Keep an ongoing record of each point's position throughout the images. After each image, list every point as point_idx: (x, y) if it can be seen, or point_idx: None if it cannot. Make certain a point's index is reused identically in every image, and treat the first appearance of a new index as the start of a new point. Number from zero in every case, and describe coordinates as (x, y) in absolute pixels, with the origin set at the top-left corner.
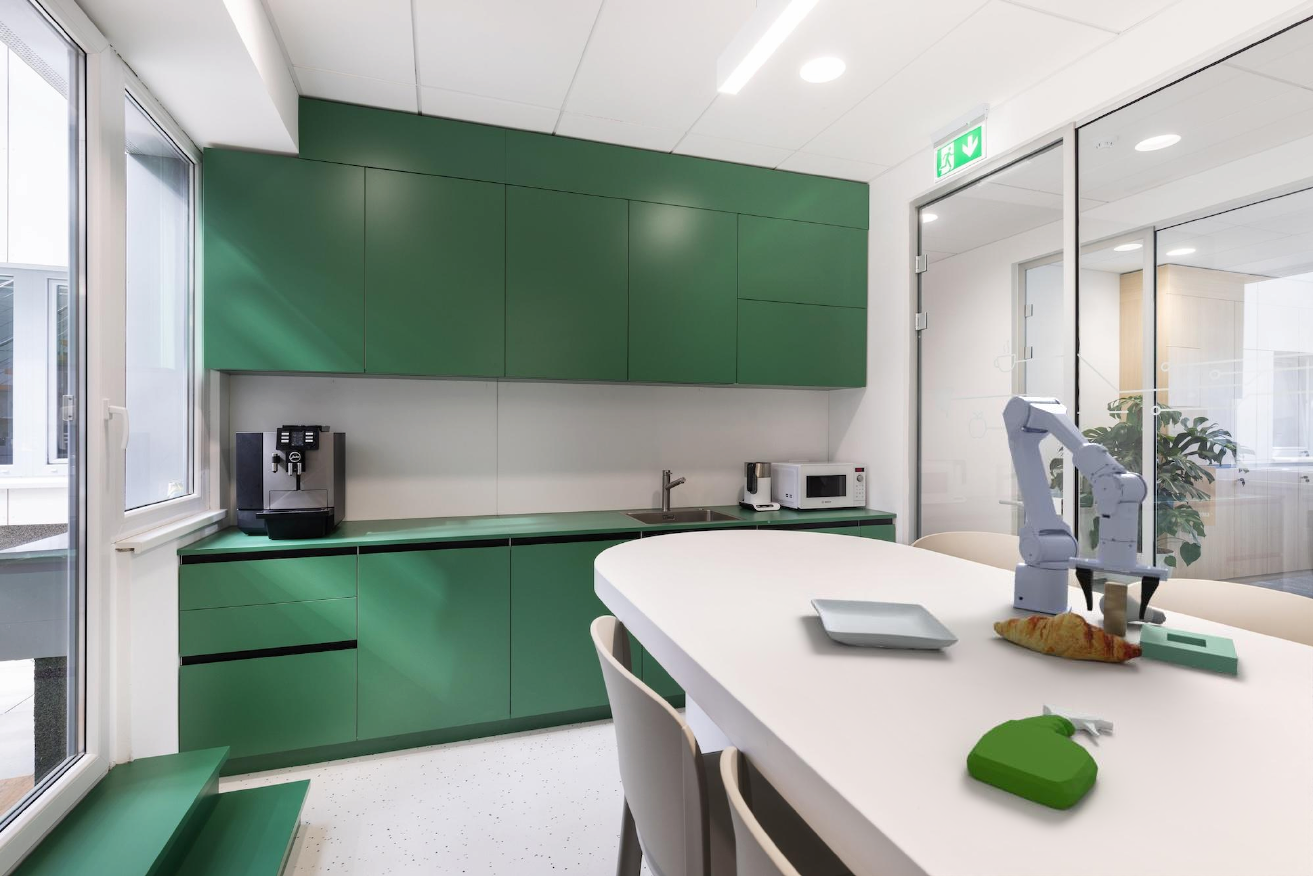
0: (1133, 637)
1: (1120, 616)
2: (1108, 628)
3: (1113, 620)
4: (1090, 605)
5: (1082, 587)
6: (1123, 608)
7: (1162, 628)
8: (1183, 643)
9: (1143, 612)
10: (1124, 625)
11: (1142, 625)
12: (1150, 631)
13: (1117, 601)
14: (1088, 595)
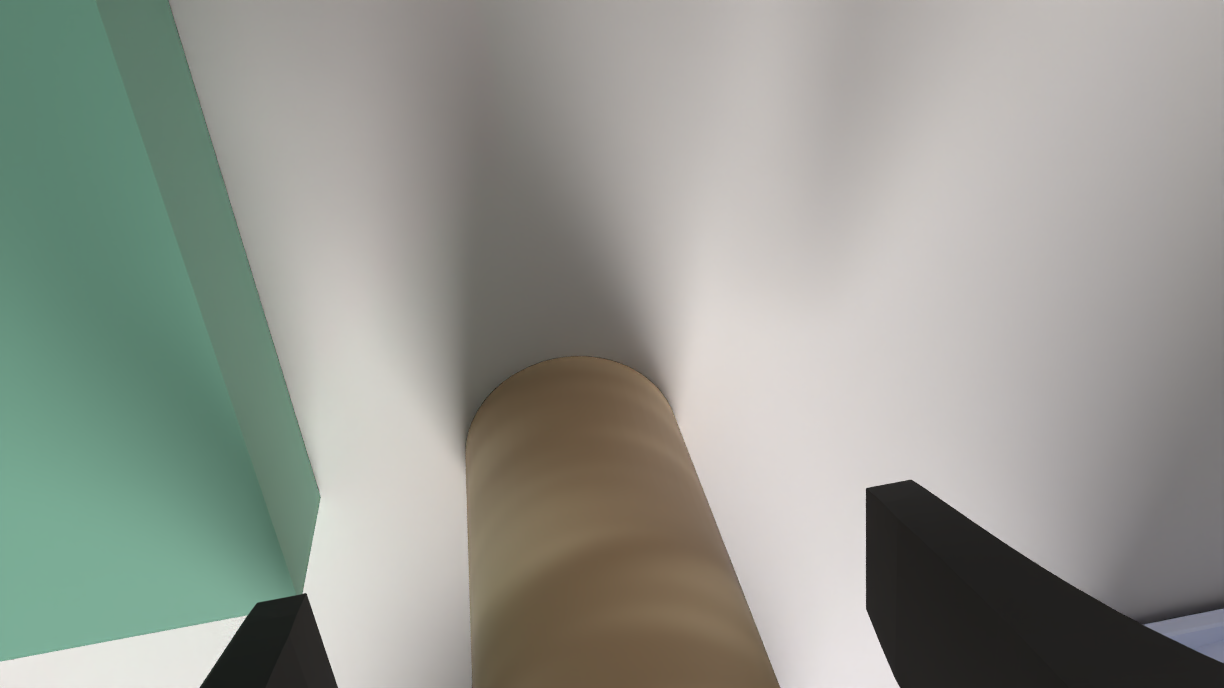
0: (391, 462)
1: (518, 524)
2: (624, 396)
3: (587, 451)
4: (916, 518)
5: (1214, 664)
6: (497, 635)
7: (64, 605)
8: None
9: (225, 662)
10: (474, 493)
11: (276, 548)
12: (88, 332)
13: (584, 663)
14: (1026, 605)
